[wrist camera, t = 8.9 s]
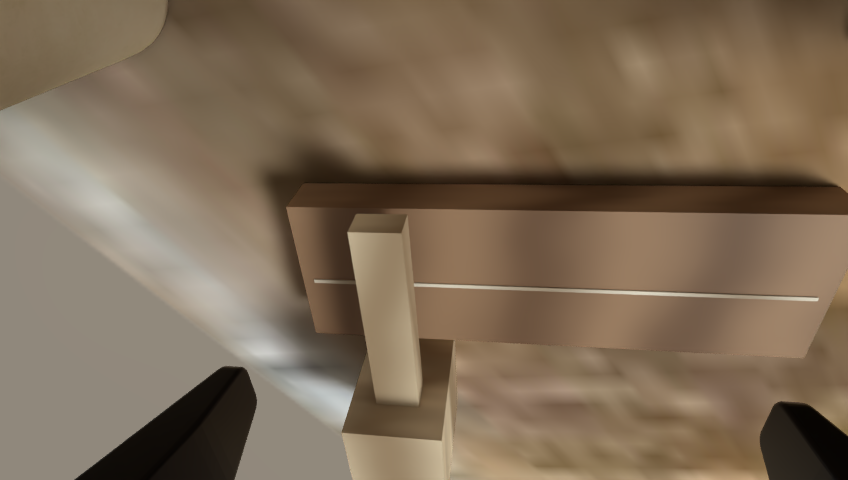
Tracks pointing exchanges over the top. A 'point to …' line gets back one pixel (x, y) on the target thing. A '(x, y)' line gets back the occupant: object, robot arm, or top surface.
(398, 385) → the gauge
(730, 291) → the board
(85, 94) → the top surface
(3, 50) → the candle
